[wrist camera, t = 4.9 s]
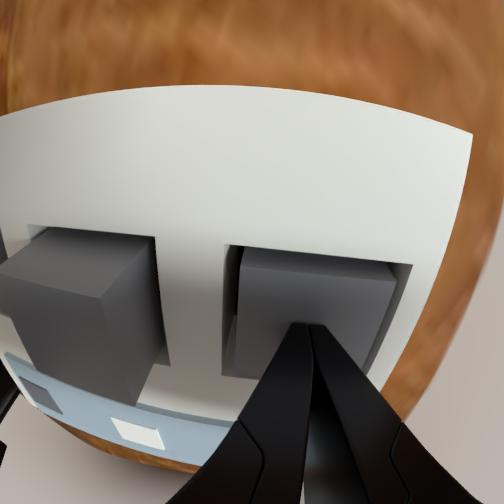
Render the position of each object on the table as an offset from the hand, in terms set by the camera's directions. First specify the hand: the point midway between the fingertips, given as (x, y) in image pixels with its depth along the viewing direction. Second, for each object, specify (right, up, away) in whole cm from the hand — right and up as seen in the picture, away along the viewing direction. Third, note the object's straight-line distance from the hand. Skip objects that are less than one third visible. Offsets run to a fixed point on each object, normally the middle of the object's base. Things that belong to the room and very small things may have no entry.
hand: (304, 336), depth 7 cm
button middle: (-6, +1, +1) cm, 6 cm away
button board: (-6, 0, +4) cm, 7 cm away
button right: (0, +1, +2) cm, 3 cm away
